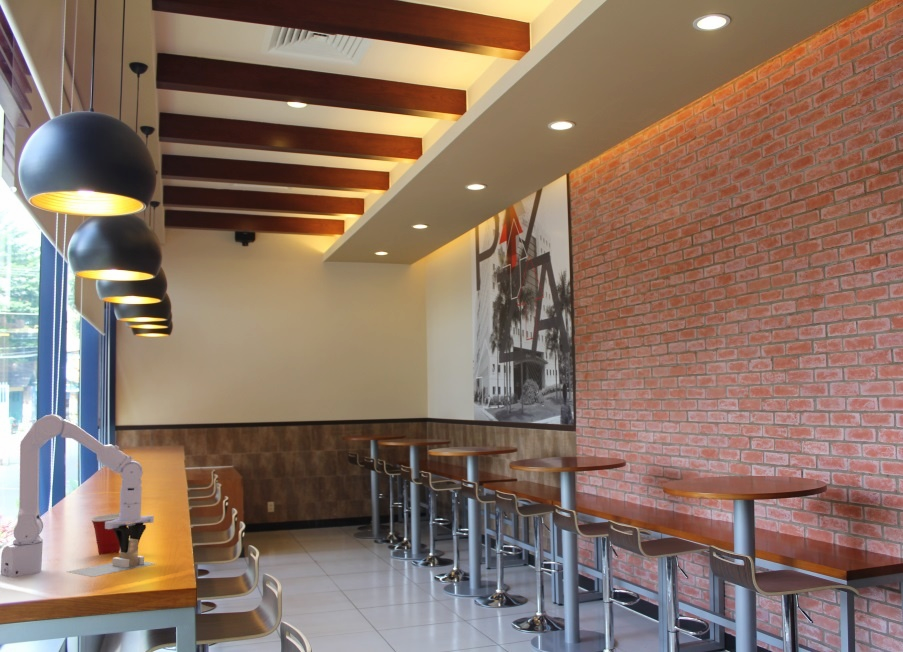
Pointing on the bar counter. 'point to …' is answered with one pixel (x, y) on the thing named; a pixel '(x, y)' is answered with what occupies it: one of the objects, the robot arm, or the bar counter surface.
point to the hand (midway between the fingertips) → (128, 551)
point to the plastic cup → (105, 534)
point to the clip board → (111, 567)
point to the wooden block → (131, 552)
